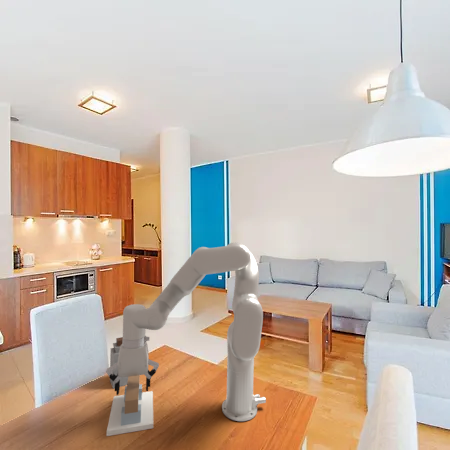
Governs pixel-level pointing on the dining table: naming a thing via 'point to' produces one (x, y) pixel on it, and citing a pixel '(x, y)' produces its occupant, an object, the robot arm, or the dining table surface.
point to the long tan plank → (132, 394)
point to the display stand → (131, 414)
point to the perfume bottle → (114, 360)
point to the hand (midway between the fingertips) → (132, 390)
